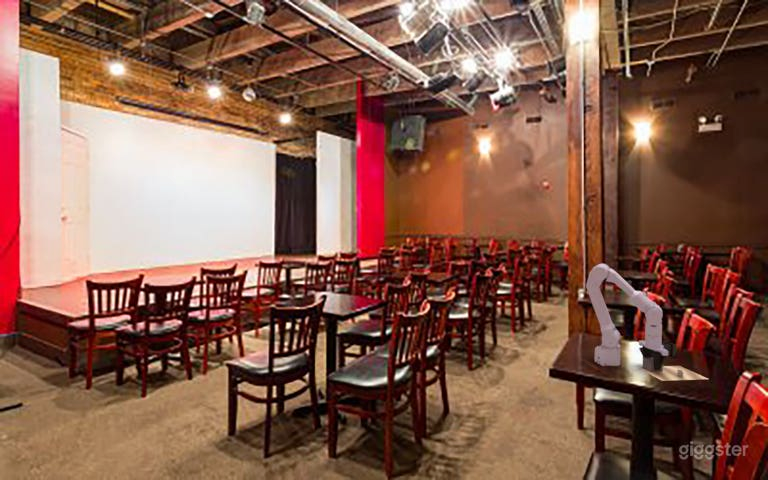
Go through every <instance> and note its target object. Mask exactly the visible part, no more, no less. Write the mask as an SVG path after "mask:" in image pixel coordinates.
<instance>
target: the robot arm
mask: <svg viewBox="0 0 768 480" xmlns="http://www.w3.org/2000/svg"><path fill="white" fill-rule="evenodd" d="M605 279H606V280H605ZM604 280H605V282H610V283H613V284H615V285H616V286H617V288H619V289H621V290H622V291H623V292H624V293H626V295H628V296H629V302H631V303H632V304H633V305H634V306H635V308H636V307H637V309H638V310H640V311H641V312H642V313H644V315H645V318H646V321H645V333H644V340H639V341H638V345H639V346H640V347H639V348H638V349H639V351H640V353H641V355H642V358H643V357H653V362H654V370H660V369H661V366H662V364H663V365H664V361H665V360H666V358H667V357H668V356H669V355H668V351H667V350H666V349H664V348H663V347H664V346H663V345H661V343H662V341H663V340H662V338H663V337H662V335H663V324H662V323H663V320H662V319H663V316H664V315H663V310H662V308H661V307H660V305H658V304H657V303H656V301H652V299H650V298H649V297H648V296H647V293H646V292H645V291H641V290H635V288H634V287H632V286H631V285H630V283H628V282H627V280H625V279H624V278H623V277H622V276H621V275H620V274H619V273H618V272H617V271H615V269H613V268H611V267H610V266H609V265H608V264H606V263H598V264H596V265H595V266H593V267H592V269H591V270H590V272H589V273H588V278H587V281H586V285H585V287H586V289H587V293H588V296H589V298H590V301H591V305H592V307H593V309H594V312H595V315H596V317H597V320H598V323H599V326H600V332H601V344H600V345H598V346H596V347H595V348H594V362H595V363H596V364H598V365H600V366H602V367H606V366H608V367H609V366H611V367H617V366H620V365H621V349H622V348H621V345H620V344H619V341H620V340H621V333H620V331H619V330H618V329H617V328H616V326H615V324H614V322H613V321H612V319H611V318H612V317H611V315H610V313H609V310H608V307H607V305H606V301H605V298H604V296H603V294H602V291H601V287H600V286H601V284H602V283H603V282H604ZM654 351H655V352H656V353H653V352H654Z"/></svg>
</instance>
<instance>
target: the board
mask: <svg viewBox="0 0 768 480" xmlns="http://www.w3.org/2000/svg"><path fill="white" fill-rule="evenodd" d="M636 368H637V369H638V370H641V371H643V372H644V373H647V374H649V375H650V376H652V377H654V378H657V379H658V380H660V381H662V382H663V381H666V382H667V381H668V382H669V381H671V382H672V381H692V380H693V381H694V380H695V381H697V380H709V378H707V377H705V376H703V375H701V374H698V373H696V372H694V371H692V370H691V369H687V368H685V367H683V366H682V365H663V372H650V371H648V370H646V369H644V368H643V366H636ZM677 369H678V370H682V371H683V378H682V377H678V375H677Z"/></svg>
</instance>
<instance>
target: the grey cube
mask: <svg viewBox="0 0 768 480" xmlns="http://www.w3.org/2000/svg"><path fill="white" fill-rule="evenodd" d="M663 366H664V363H663V364H662V366H661V369H660V370H654V362H653V357H643V356H642V367H643V368H644V369H646V370H648V371H650V372H663Z"/></svg>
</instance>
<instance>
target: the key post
mask: <svg viewBox="0 0 768 480" xmlns="http://www.w3.org/2000/svg"><path fill="white" fill-rule="evenodd" d="M677 375H678V377H682V378H683V371H682V370H678V369H677Z"/></svg>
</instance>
